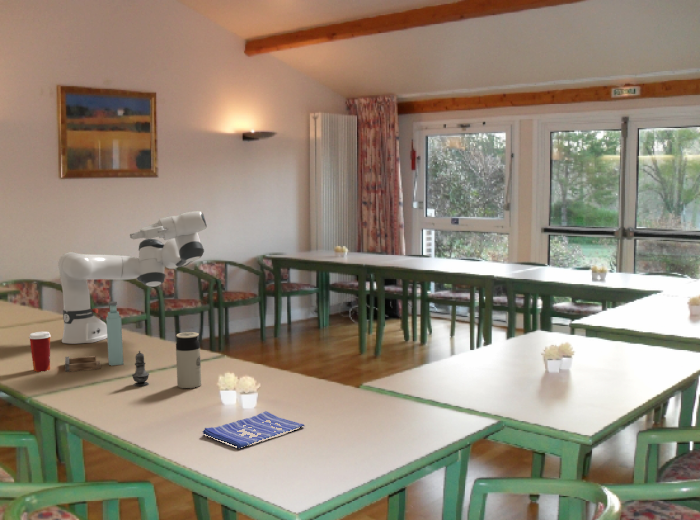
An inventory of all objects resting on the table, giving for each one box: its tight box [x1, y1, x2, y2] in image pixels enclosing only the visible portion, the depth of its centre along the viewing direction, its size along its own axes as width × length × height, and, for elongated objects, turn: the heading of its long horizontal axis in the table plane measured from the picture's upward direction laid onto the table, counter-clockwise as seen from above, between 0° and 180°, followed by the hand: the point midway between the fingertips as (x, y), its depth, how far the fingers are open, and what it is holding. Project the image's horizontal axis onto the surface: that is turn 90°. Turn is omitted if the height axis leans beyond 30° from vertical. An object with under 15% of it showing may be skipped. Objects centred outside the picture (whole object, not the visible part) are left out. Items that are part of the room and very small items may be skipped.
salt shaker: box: [131, 350, 150, 388], centre depth 259 cm, size 6×6×12 cm
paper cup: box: [28, 331, 52, 373], centre depth 280 cm, size 8×8×14 cm
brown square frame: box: [64, 355, 101, 373], centre depth 285 cm, size 12×12×3 cm
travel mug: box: [175, 331, 202, 389], centre depth 256 cm, size 8×8×18 cm
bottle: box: [105, 301, 124, 366], centre depth 288 cm, size 5×5×24 cm
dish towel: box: [202, 410, 306, 448], centre depth 209 cm, size 17×24×3 cm
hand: (131, 236), depth 294 cm, fingers open, 8 cm apart
